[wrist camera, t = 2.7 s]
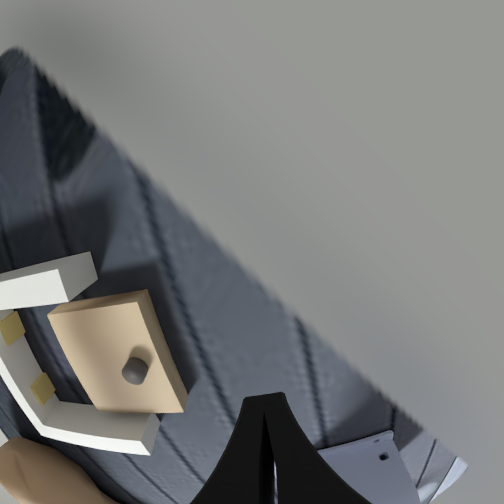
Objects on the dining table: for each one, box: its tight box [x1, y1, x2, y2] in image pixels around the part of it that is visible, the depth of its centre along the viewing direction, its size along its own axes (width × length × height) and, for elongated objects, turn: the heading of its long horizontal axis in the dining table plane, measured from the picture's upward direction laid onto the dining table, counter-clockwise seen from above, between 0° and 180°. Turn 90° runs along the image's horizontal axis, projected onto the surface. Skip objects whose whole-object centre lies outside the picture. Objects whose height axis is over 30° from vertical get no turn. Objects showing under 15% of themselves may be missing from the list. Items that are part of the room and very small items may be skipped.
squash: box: [0, 436, 120, 504], centre depth 16 cm, size 11×20×9 cm, turn 39°
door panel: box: [47, 289, 188, 413], centre depth 13 cm, size 6×7×3 cm
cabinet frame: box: [0, 252, 160, 455], centre depth 13 cm, size 10×12×3 cm
